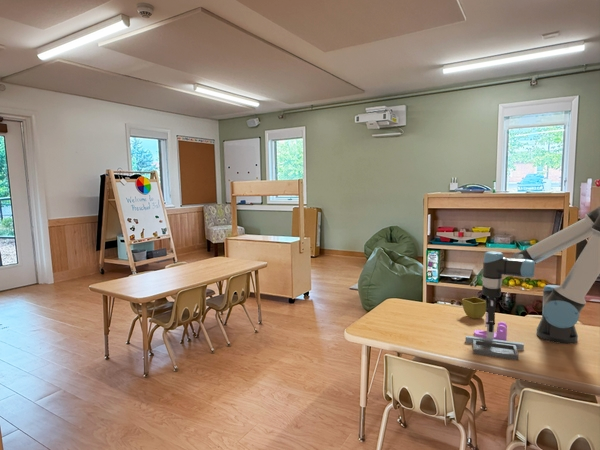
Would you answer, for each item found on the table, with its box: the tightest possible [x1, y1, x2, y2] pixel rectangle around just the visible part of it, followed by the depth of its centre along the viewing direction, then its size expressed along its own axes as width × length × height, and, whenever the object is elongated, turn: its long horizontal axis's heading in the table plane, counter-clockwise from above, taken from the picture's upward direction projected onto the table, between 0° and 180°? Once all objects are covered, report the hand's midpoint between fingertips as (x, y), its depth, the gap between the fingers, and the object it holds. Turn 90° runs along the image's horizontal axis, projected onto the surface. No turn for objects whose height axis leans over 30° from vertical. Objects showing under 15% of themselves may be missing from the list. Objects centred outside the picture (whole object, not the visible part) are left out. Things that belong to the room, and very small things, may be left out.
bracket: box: [473, 321, 508, 341], centre depth 171 cm, size 13×6×7 cm, turn 59°
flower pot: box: [461, 296, 487, 320], centre depth 194 cm, size 9×9×9 cm
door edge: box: [465, 335, 525, 351], centre depth 162 cm, size 22×2×2 cm, turn 66°
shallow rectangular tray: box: [472, 340, 520, 362], centre depth 156 cm, size 16×10×2 cm, turn 67°
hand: (489, 332), depth 171 cm, fingers open, 13 cm apart
